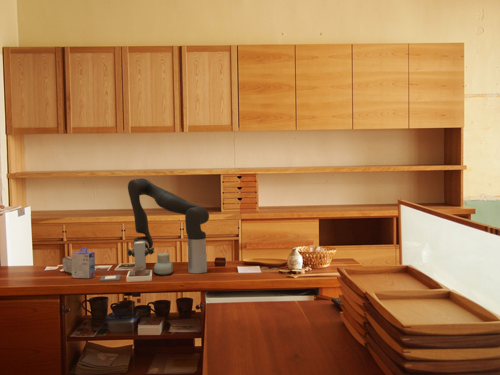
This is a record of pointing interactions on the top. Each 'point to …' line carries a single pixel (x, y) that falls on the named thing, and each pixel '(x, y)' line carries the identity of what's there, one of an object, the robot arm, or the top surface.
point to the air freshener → (163, 264)
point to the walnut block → (139, 272)
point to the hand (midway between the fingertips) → (139, 254)
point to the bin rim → (139, 278)
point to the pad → (110, 278)
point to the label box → (140, 255)
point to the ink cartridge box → (83, 264)
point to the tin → (67, 264)
